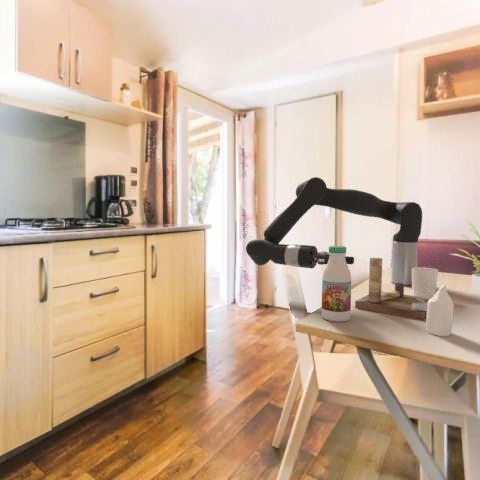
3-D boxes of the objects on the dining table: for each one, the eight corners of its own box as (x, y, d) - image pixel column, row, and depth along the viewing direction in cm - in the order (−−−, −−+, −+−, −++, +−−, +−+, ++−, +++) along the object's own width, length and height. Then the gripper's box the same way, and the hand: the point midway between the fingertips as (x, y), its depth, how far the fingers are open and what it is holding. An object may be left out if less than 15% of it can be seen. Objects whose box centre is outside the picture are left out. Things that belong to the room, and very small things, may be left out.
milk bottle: (317, 314, 98) (319, 244, 97) (343, 313, 99) (345, 244, 97) (326, 322, 91) (328, 247, 89) (354, 322, 91) (357, 247, 90)
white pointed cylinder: (426, 280, 87) (451, 282, 85) (423, 327, 88) (448, 329, 86) (430, 285, 81) (457, 287, 79) (427, 334, 82) (454, 338, 80)
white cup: (440, 301, 113) (441, 271, 112) (414, 300, 114) (415, 270, 114) (431, 295, 121) (433, 267, 120) (407, 294, 122) (409, 266, 121)
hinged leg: (396, 294, 113) (398, 254, 112) (406, 296, 110) (408, 256, 109) (365, 300, 104) (367, 258, 103) (376, 303, 101) (377, 259, 100)
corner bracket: (406, 306, 99) (406, 299, 99) (421, 306, 99) (421, 300, 99) (411, 310, 95) (412, 303, 95) (427, 311, 95) (428, 304, 94)
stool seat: (376, 296, 120) (376, 289, 119) (438, 305, 107) (438, 299, 107) (355, 307, 105) (355, 300, 105) (423, 320, 93) (423, 312, 93)
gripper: (293, 246, 109) (348, 250, 100) (308, 243, 121) (359, 247, 111) (292, 269, 110) (347, 275, 101) (307, 264, 121) (358, 269, 112)
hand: (353, 260), depth 106 cm, fingers closed
